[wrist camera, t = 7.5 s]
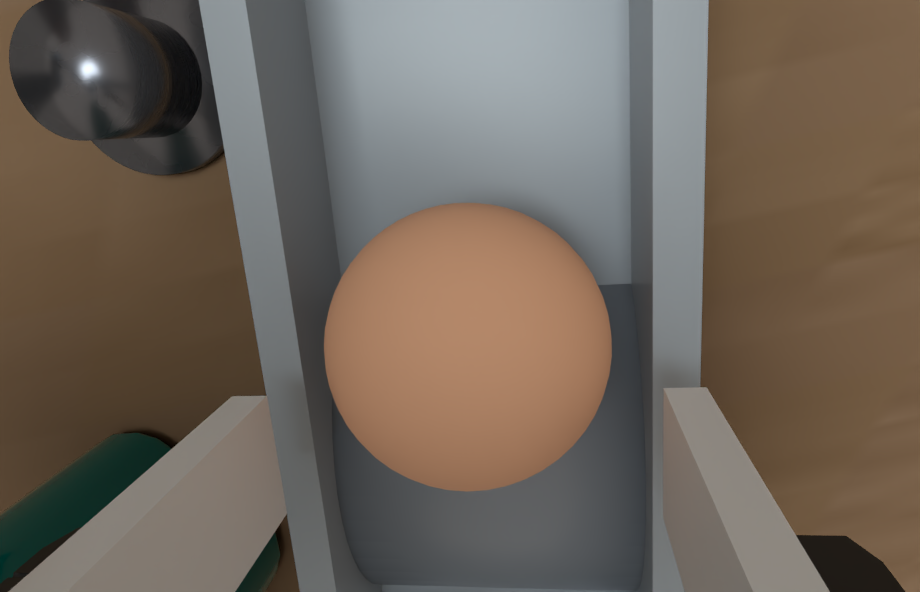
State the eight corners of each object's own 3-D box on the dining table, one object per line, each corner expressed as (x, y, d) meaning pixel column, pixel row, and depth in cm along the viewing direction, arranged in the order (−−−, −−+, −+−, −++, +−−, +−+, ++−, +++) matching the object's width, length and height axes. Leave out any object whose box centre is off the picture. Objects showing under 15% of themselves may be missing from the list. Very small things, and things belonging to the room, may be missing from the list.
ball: (363, 510, 15) (244, 457, 10) (383, 289, 18) (299, 155, 13) (616, 512, 14) (635, 454, 9) (598, 277, 17) (604, 126, 12)
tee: (98, 179, 22) (2, 191, 18) (55, -10, 20) (-60, -40, 16) (261, 167, 21) (196, 177, 17) (229, -32, 19) (151, -70, 15)
